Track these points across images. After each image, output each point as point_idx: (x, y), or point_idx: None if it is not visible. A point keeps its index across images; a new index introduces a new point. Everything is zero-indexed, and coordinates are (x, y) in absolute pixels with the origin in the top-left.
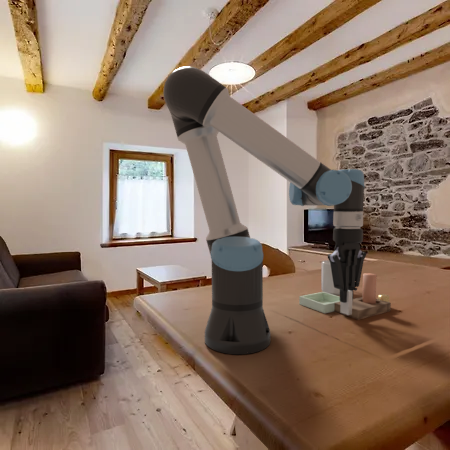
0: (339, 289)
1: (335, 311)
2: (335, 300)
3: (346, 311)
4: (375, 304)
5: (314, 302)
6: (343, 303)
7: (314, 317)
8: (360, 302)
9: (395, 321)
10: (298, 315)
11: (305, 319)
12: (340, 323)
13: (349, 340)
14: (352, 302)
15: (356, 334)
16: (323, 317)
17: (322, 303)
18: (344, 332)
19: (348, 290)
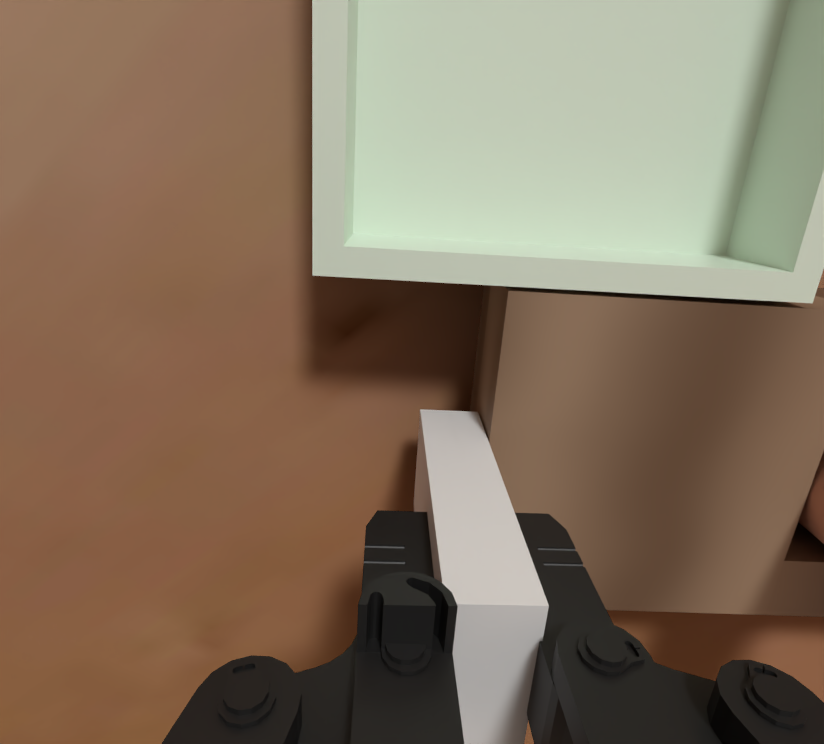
0: (337, 662)
1: (487, 287)
2: (803, 64)
3: (416, 500)
4: (820, 579)
5: (314, 57)
6: (423, 509)
7: (181, 236)
8: (781, 458)
9: (695, 664)
10: (45, 66)
11: (43, 224)
12: (287, 483)
13: (85, 695)
14: (712, 405)
15: (212, 664)
16: (270, 293)
17: (336, 214)
18: (160, 608)
19: (486, 707)
